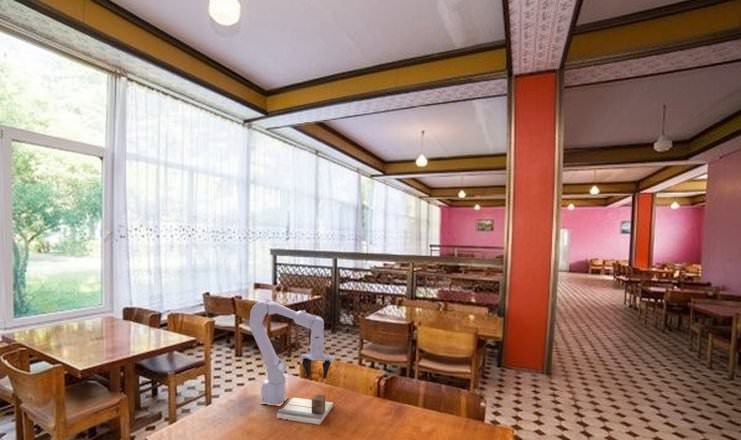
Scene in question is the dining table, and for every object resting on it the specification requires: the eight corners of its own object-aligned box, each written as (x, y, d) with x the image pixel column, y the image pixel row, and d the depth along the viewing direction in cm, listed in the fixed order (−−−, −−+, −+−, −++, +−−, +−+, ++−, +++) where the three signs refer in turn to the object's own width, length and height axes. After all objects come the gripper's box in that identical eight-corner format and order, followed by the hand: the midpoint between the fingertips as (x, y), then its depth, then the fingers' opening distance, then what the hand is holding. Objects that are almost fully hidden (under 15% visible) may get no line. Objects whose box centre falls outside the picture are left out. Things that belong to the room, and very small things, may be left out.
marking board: (276, 418, 130) (276, 411, 130) (293, 401, 143) (293, 395, 143) (319, 424, 125) (319, 417, 125) (332, 406, 139) (332, 400, 139)
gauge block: (311, 415, 129) (311, 399, 130) (315, 409, 133) (315, 394, 133) (321, 416, 128) (321, 400, 129) (325, 411, 132) (325, 395, 132)
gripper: (297, 347, 144) (297, 379, 143) (329, 349, 141) (329, 382, 140) (304, 342, 151) (304, 372, 150) (335, 344, 147) (334, 376, 147)
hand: (316, 377), depth 145 cm, fingers open, 7 cm apart
